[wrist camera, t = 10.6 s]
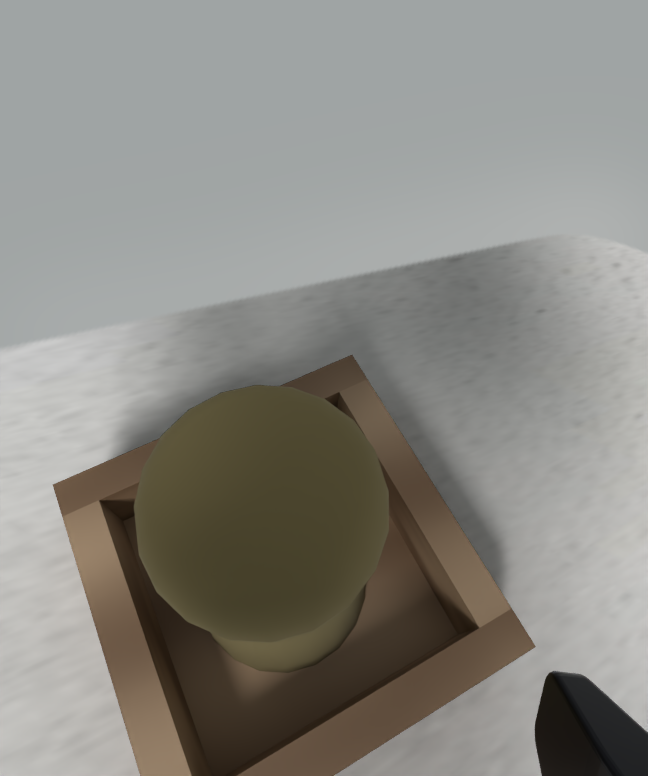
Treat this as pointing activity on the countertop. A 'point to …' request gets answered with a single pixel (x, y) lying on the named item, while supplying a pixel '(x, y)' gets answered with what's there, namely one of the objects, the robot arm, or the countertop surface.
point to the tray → (312, 684)
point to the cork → (264, 523)
